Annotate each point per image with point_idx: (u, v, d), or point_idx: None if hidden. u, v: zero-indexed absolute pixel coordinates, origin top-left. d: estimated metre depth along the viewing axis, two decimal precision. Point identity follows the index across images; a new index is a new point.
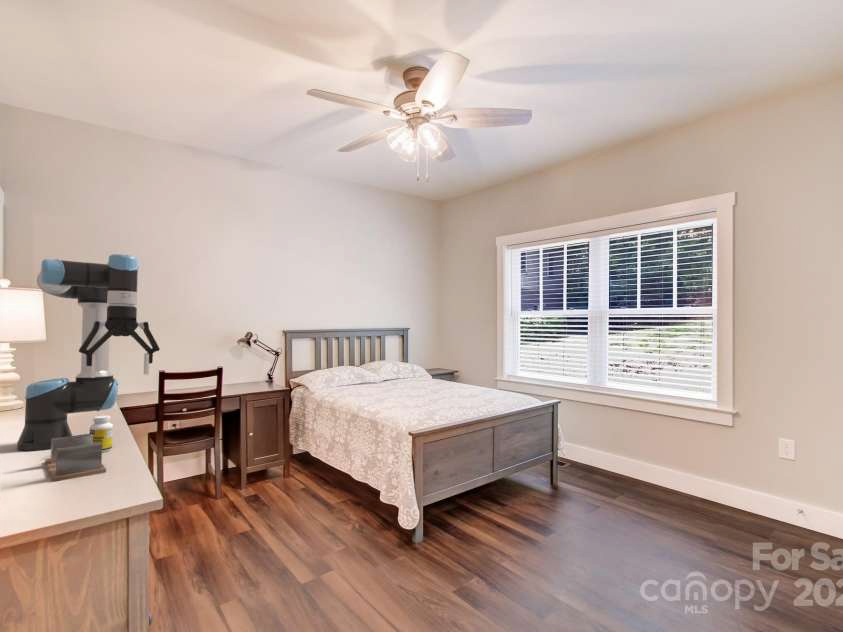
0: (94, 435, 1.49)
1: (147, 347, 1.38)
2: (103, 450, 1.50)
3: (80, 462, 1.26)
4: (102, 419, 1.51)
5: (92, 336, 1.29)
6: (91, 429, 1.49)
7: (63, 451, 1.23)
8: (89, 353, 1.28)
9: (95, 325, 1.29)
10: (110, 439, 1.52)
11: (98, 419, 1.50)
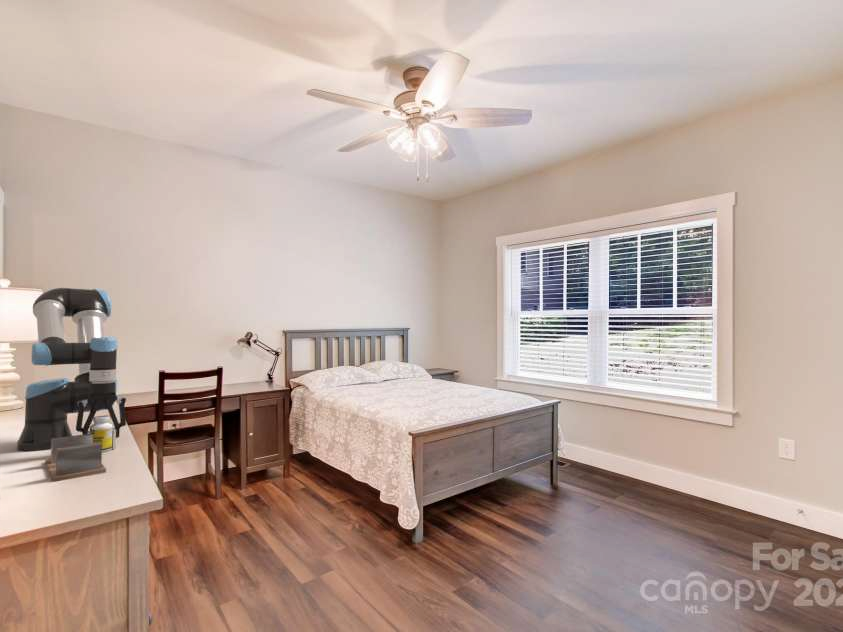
0: (94, 435, 1.49)
1: (116, 422, 1.54)
2: (103, 450, 1.50)
3: (80, 462, 1.26)
4: (102, 419, 1.51)
5: (81, 415, 1.48)
6: (91, 429, 1.49)
7: (63, 451, 1.23)
8: (85, 431, 1.48)
9: (79, 405, 1.47)
10: (110, 439, 1.52)
11: (98, 419, 1.50)
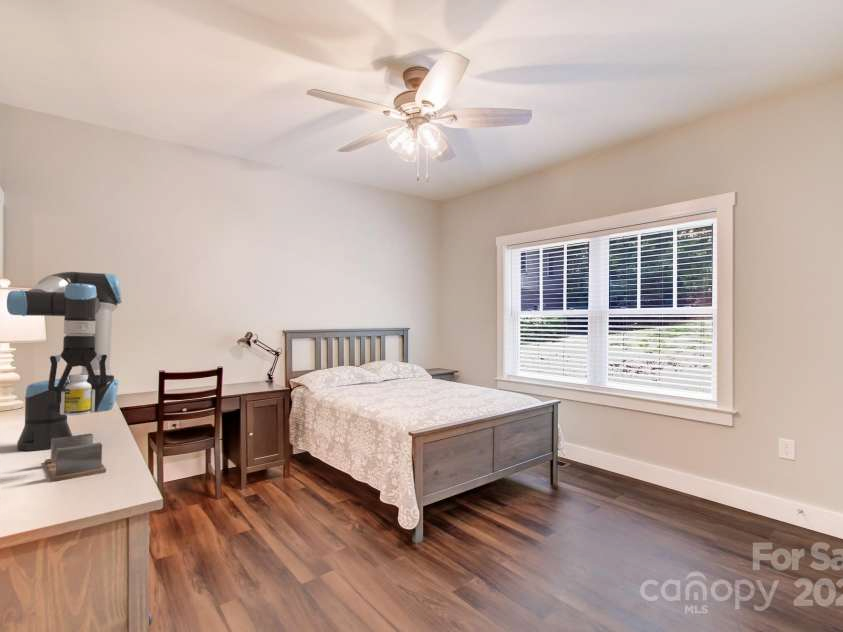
0: (69, 395, 1.29)
1: (95, 382, 1.35)
2: (80, 412, 1.30)
3: (80, 462, 1.26)
4: (78, 377, 1.31)
5: (54, 372, 1.28)
6: (66, 388, 1.30)
7: (63, 451, 1.23)
8: (58, 390, 1.28)
9: (52, 360, 1.28)
10: (88, 400, 1.32)
11: (74, 377, 1.30)
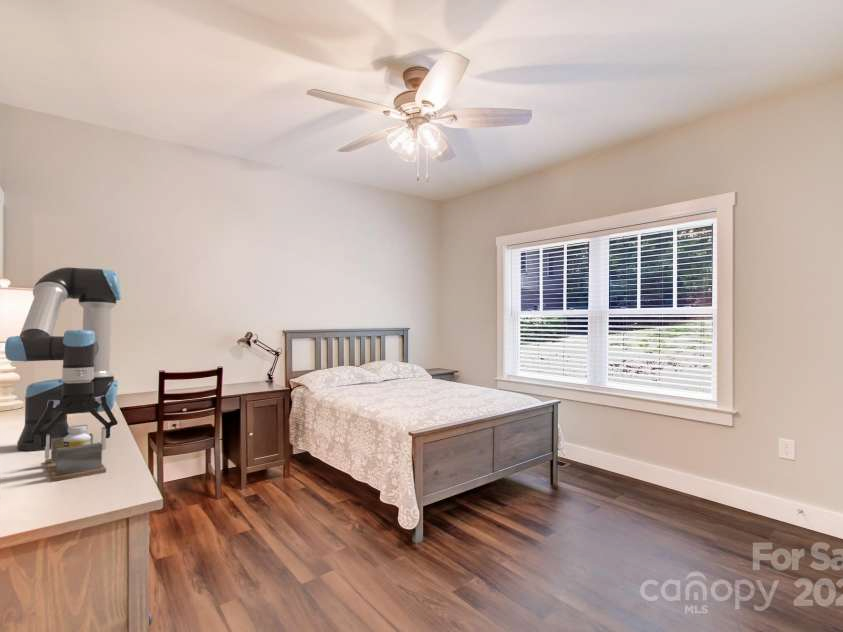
0: None
1: (104, 422, 1.36)
2: None
3: (80, 462, 1.26)
4: (78, 429, 1.30)
5: (46, 416, 1.26)
6: (65, 441, 1.29)
7: (63, 451, 1.23)
8: (43, 434, 1.26)
9: (49, 405, 1.27)
10: None
11: (73, 429, 1.30)
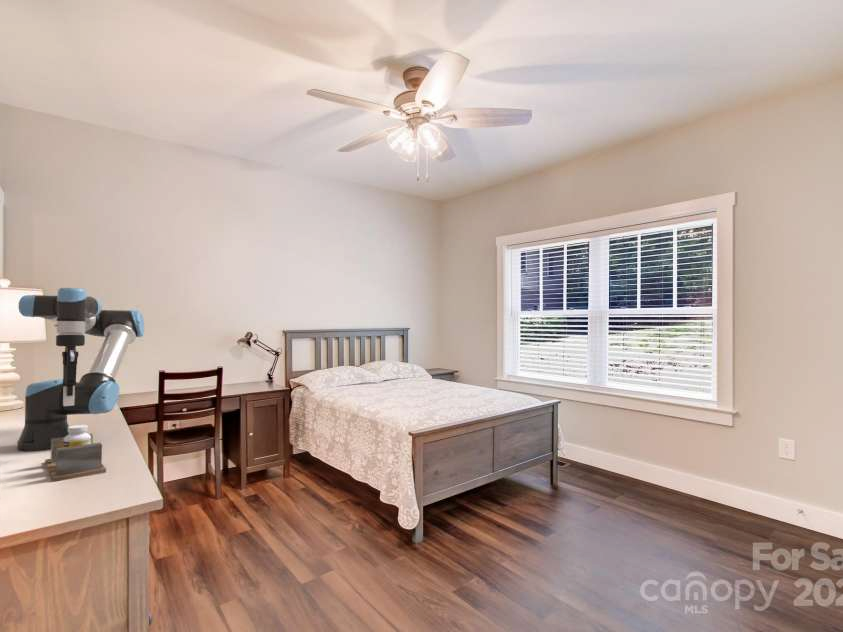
0: None
1: (65, 379, 1.45)
2: None
3: (80, 462, 1.26)
4: (78, 429, 1.30)
5: (63, 366, 1.50)
6: (65, 441, 1.29)
7: (63, 451, 1.23)
8: (63, 383, 1.48)
9: None
10: None
11: (73, 429, 1.30)
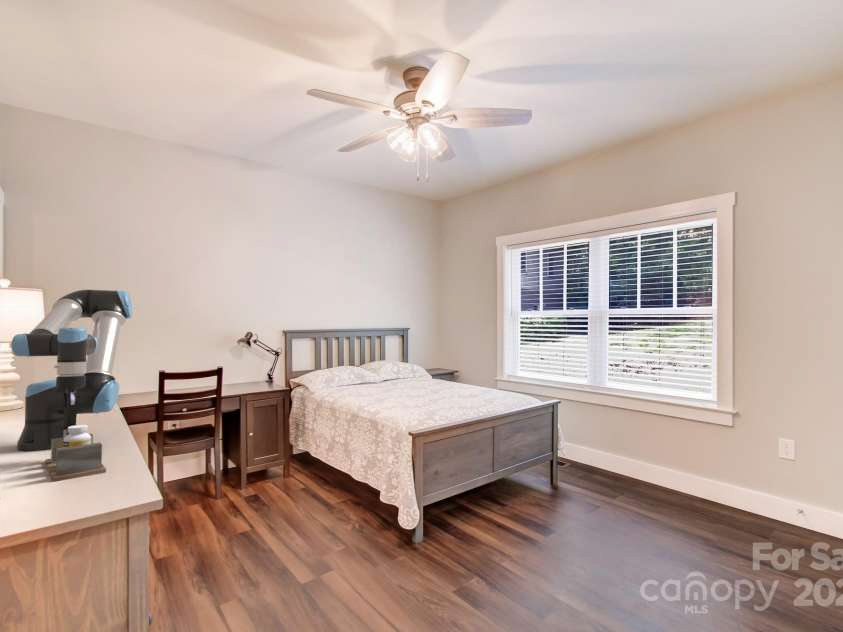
0: None
1: (65, 422, 1.41)
2: None
3: (80, 462, 1.26)
4: (78, 429, 1.30)
5: (63, 408, 1.45)
6: (65, 441, 1.29)
7: (63, 451, 1.23)
8: (64, 426, 1.43)
9: None
10: None
11: (73, 429, 1.30)
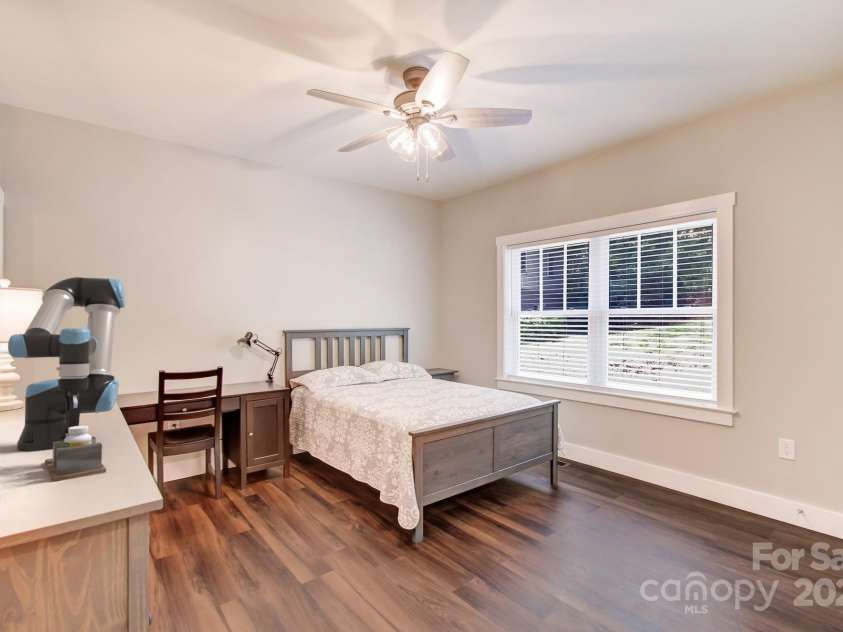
0: None
1: (67, 425, 1.37)
2: None
3: (80, 462, 1.26)
4: (78, 430, 1.29)
5: (66, 411, 1.41)
6: (65, 442, 1.28)
7: (63, 451, 1.23)
8: (66, 430, 1.39)
9: None
10: None
11: (73, 430, 1.29)
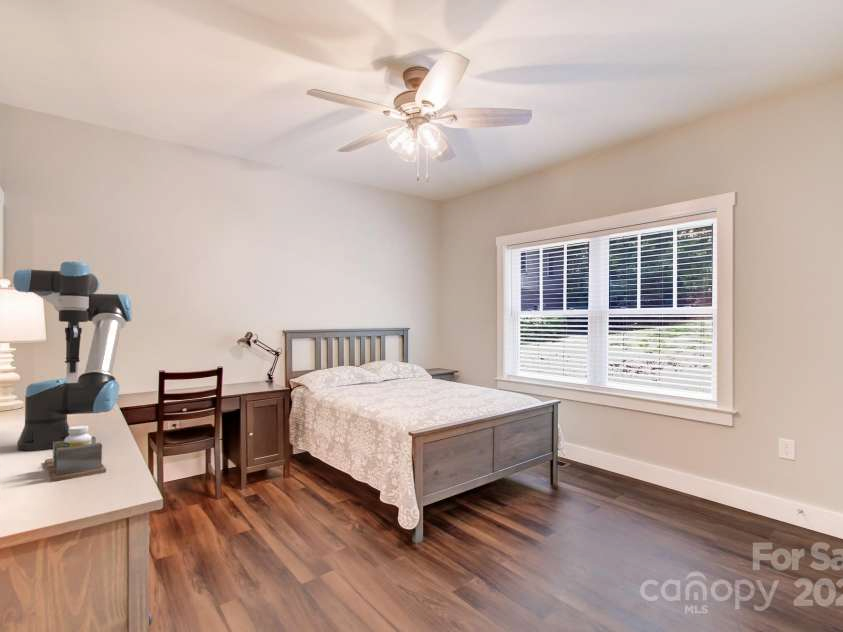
0: None
1: (68, 355, 1.41)
2: None
3: (80, 462, 1.26)
4: (78, 430, 1.29)
5: (66, 343, 1.45)
6: (65, 442, 1.28)
7: (63, 451, 1.23)
8: (66, 360, 1.43)
9: None
10: None
11: (73, 430, 1.29)
